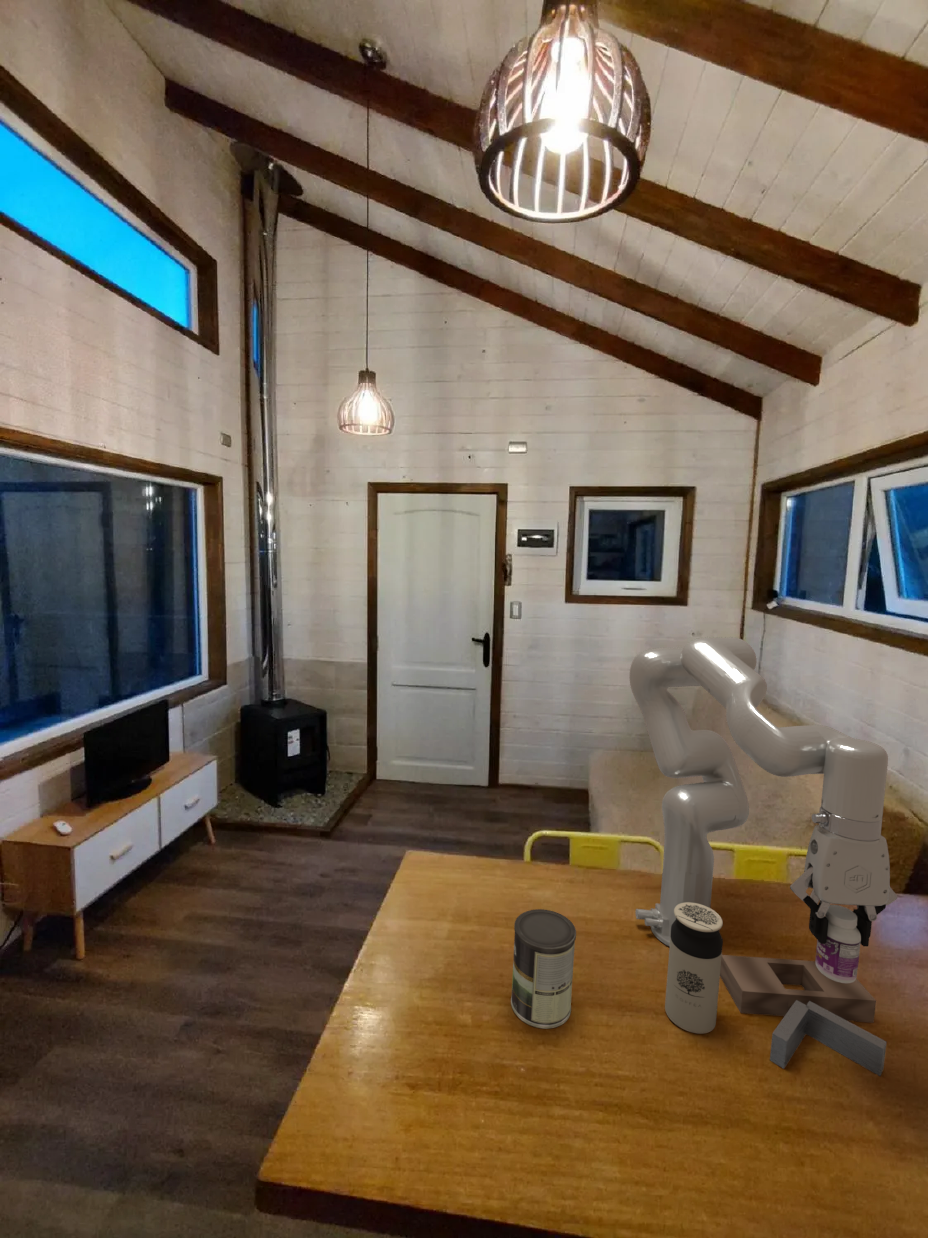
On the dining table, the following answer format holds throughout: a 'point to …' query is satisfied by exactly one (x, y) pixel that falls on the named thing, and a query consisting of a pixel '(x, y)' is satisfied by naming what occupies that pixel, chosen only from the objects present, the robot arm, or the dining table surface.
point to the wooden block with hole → (763, 992)
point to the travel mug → (694, 967)
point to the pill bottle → (840, 946)
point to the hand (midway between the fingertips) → (838, 938)
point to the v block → (826, 1037)
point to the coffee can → (543, 968)
